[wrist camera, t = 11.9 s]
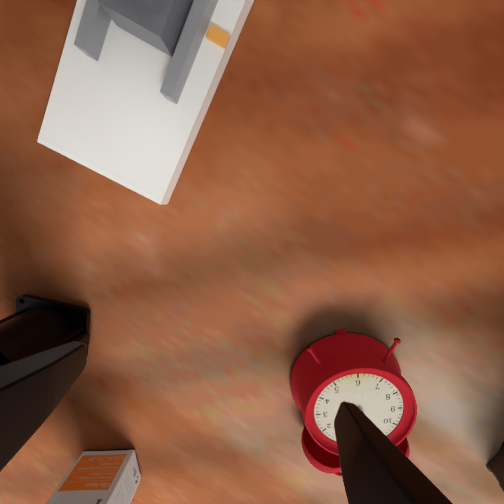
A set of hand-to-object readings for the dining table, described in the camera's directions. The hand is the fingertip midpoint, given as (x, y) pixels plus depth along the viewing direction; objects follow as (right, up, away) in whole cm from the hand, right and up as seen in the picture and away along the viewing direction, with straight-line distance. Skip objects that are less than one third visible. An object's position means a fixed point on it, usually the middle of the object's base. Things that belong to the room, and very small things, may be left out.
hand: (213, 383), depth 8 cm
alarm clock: (+11, -10, +16) cm, 21 cm away
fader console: (-5, +20, +9) cm, 23 cm away
